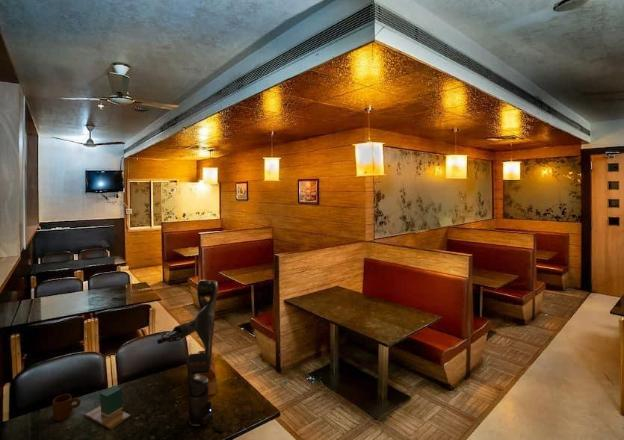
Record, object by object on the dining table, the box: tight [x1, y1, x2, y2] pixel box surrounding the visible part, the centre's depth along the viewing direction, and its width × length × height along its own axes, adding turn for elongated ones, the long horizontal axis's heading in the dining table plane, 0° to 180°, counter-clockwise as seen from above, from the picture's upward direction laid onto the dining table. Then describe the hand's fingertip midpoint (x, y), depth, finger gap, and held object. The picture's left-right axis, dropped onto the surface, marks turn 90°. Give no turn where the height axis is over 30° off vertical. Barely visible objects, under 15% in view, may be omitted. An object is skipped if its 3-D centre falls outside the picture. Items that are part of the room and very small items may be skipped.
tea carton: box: [99, 385, 124, 418], centre depth 171 cm, size 6×11×8 cm
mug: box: [51, 393, 82, 422], centre depth 169 cm, size 12×8×9 cm, turn 97°
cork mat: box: [84, 405, 132, 430], centre depth 169 cm, size 20×10×1 cm, turn 63°
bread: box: [196, 349, 218, 396], centre depth 197 cm, size 25×12×15 cm, turn 18°
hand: (158, 342), depth 184 cm, fingers closed
